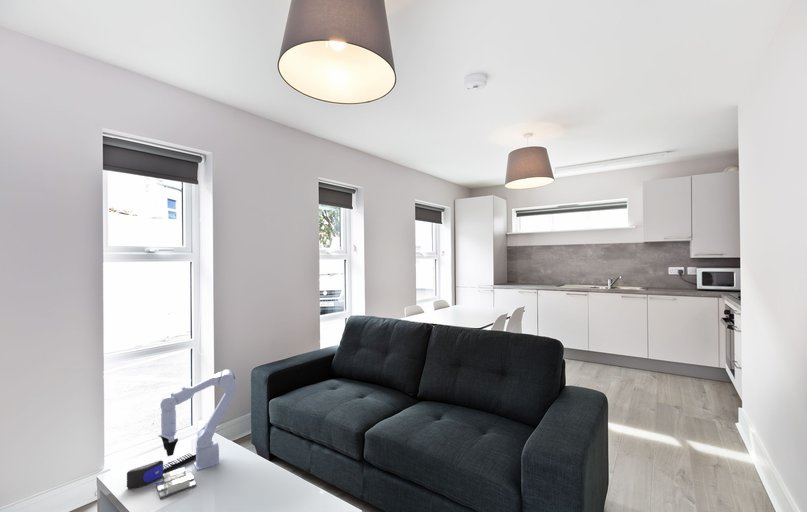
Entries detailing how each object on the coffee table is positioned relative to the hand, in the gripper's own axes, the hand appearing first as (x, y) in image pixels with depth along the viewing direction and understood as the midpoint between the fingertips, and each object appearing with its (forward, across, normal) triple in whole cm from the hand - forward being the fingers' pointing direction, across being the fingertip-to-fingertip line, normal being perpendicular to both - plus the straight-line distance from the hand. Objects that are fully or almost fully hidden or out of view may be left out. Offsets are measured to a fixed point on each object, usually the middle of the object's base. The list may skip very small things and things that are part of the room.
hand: (168, 452), depth 170 cm
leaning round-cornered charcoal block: (+10, +3, -9) cm, 14 cm away
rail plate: (+9, +15, 0) cm, 17 cm away
